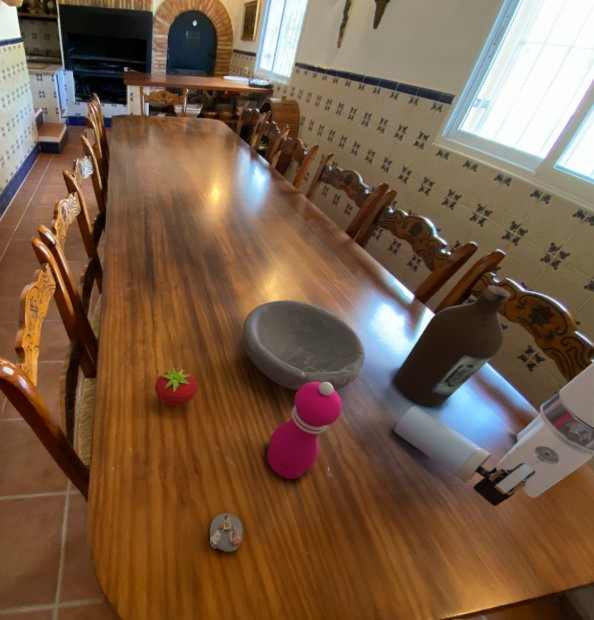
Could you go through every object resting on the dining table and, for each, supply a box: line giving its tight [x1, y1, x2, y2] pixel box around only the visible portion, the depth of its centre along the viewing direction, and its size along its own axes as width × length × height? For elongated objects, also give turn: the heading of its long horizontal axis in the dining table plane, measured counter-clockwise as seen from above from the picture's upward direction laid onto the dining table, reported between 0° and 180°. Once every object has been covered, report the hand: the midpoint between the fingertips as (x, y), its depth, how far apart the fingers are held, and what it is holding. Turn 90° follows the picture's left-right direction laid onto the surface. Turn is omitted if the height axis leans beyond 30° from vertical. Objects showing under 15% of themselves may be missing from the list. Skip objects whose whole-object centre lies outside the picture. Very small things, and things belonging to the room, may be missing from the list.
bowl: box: [242, 299, 366, 391], centre depth 72 cm, size 23×22×10 cm
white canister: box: [393, 405, 506, 484], centre depth 58 cm, size 6×6×16 cm
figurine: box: [209, 512, 243, 553], centre depth 48 cm, size 5×4×6 cm
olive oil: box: [394, 284, 512, 407], centre depth 65 cm, size 11×11×25 cm
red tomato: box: [154, 366, 198, 407], centre depth 63 cm, size 6×8×10 cm
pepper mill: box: [266, 382, 343, 480], centre depth 53 cm, size 7×7×20 cm
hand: (490, 489), depth 55 cm, fingers closed on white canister, 2 cm apart
